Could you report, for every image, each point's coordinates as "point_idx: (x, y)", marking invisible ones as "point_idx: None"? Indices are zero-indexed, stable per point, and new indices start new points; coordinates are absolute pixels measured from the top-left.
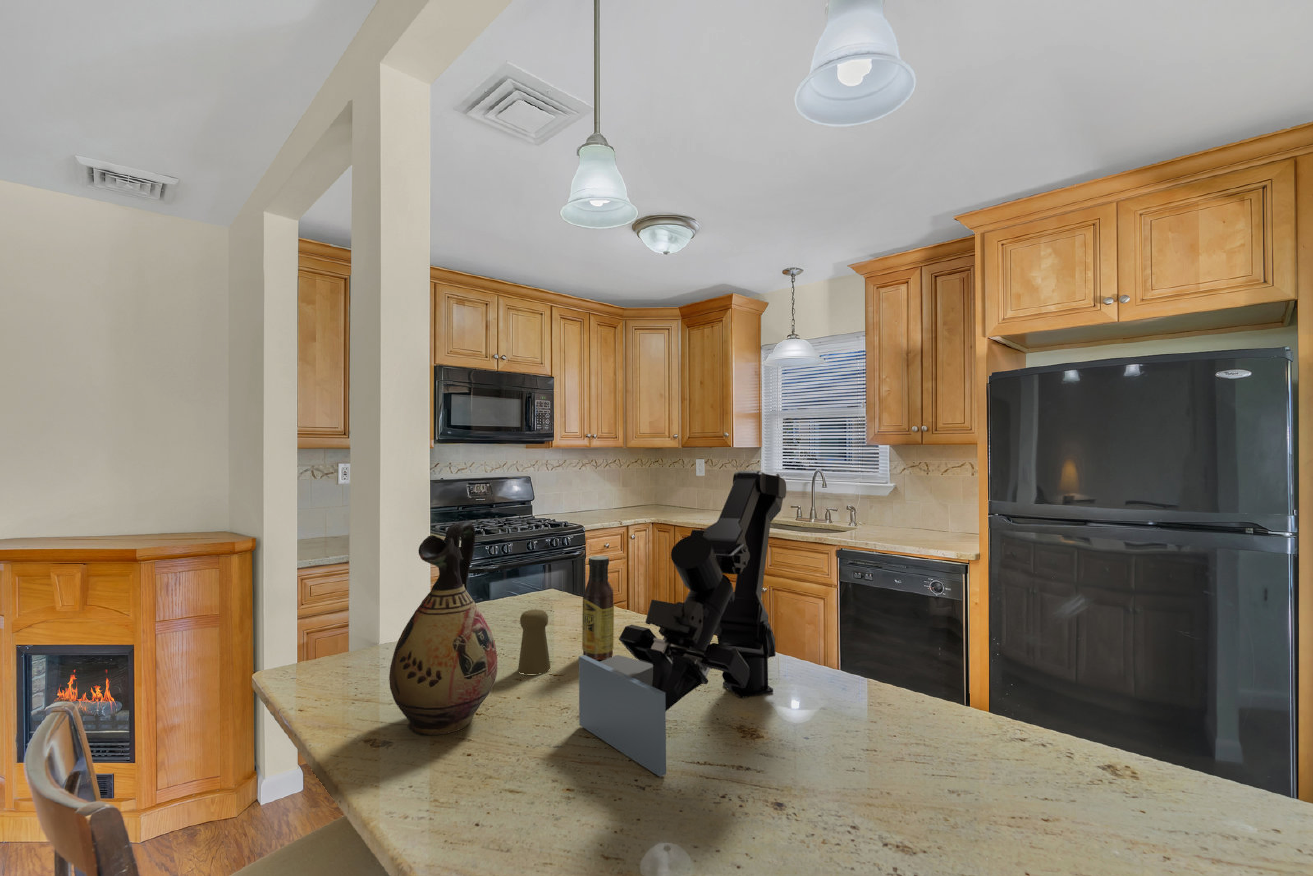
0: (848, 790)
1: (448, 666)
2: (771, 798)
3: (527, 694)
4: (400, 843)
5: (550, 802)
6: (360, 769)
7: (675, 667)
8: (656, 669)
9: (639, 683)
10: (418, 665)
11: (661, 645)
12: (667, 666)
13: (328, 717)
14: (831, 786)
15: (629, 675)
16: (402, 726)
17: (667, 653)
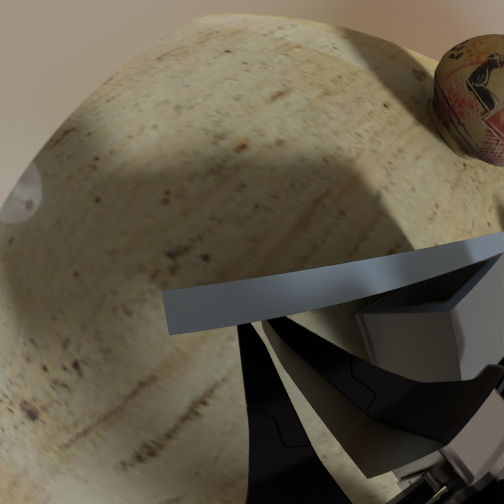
0: (43, 496)
1: (469, 58)
2: (46, 419)
3: None
4: (237, 16)
5: (222, 114)
6: (376, 45)
7: (298, 481)
8: (392, 391)
9: (348, 279)
10: (464, 41)
11: (484, 451)
12: (383, 448)
13: None
14: (55, 494)
15: (459, 330)
16: None
17: (435, 470)
